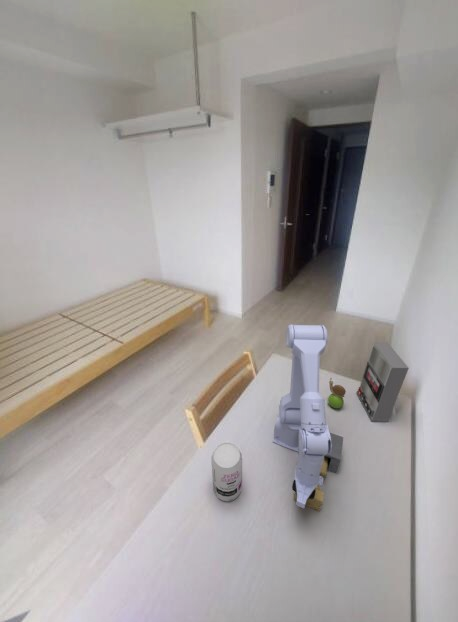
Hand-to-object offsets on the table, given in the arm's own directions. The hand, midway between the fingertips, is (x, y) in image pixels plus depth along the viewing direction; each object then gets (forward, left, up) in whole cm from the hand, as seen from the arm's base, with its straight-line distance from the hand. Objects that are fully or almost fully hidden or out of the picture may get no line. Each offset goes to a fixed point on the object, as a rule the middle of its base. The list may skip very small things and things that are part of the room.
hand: (302, 494), depth 73 cm
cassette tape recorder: (+17, +43, -3) cm, 46 cm away
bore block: (+3, +15, -2) cm, 16 cm away
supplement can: (-20, -6, -3) cm, 21 cm away
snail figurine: (+4, +38, -3) cm, 38 cm away
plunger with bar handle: (+2, +6, -2) cm, 7 cm away
